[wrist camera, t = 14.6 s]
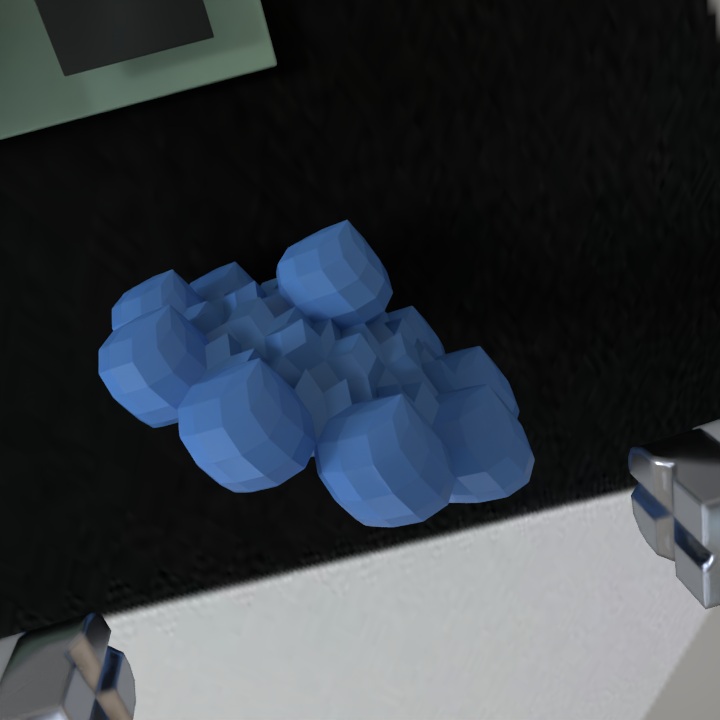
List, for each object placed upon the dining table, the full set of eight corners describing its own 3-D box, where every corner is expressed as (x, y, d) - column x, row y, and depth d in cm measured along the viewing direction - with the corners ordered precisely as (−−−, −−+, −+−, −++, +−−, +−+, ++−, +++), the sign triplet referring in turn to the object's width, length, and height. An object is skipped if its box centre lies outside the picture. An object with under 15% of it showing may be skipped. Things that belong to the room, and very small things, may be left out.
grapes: (482, 221, 23) (688, 339, 12) (433, 389, 26) (569, 613, 15) (147, 149, 21) (33, 218, 10) (126, 343, 23) (15, 577, 12)
